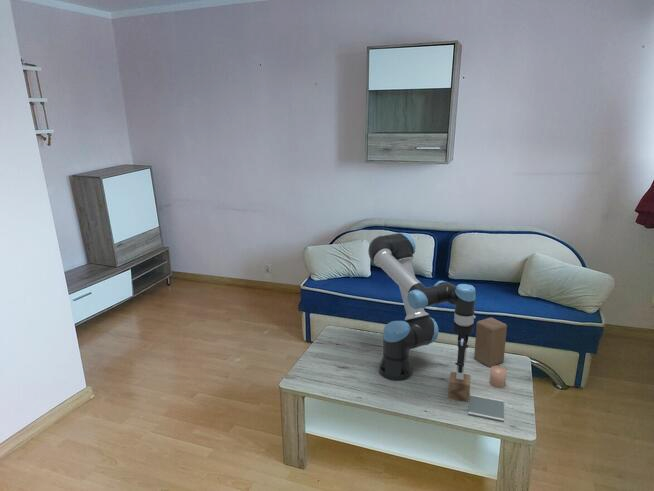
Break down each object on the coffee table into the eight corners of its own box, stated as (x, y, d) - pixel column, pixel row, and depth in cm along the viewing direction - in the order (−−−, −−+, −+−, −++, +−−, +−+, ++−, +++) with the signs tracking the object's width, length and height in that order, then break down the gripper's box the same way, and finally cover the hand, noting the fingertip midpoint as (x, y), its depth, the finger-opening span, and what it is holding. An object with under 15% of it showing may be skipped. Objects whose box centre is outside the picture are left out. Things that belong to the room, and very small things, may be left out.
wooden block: (489, 368, 203) (492, 329, 197) (473, 358, 211) (475, 320, 206) (504, 362, 207) (508, 324, 202) (488, 353, 216) (491, 316, 210)
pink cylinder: (489, 386, 189) (490, 371, 187) (489, 378, 195) (490, 364, 193) (505, 389, 187) (506, 374, 185) (505, 381, 192) (506, 366, 190)
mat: (468, 414, 170) (468, 412, 170) (470, 396, 182) (470, 394, 182) (503, 422, 166) (504, 420, 166) (503, 402, 178) (503, 400, 177)
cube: (448, 398, 181) (449, 381, 179) (450, 388, 188) (451, 371, 186) (468, 402, 178) (469, 385, 176) (469, 391, 186) (470, 374, 183)
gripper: (471, 337, 162) (468, 388, 167) (475, 311, 184) (472, 357, 190) (451, 334, 165) (448, 384, 170) (456, 309, 187) (454, 354, 192)
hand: (461, 370), depth 180 cm, fingers open, 13 cm apart
